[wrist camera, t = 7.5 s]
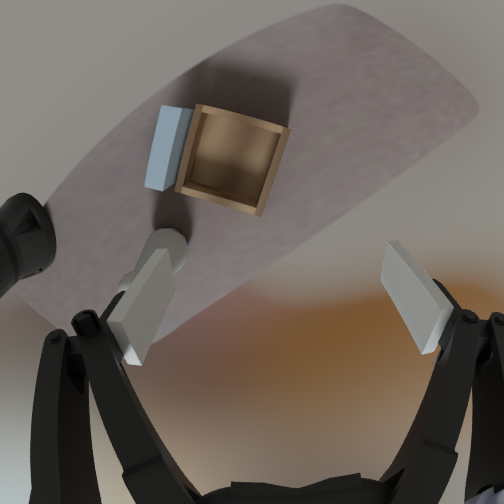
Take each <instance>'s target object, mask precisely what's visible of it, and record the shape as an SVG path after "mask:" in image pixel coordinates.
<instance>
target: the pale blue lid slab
mask: <svg viewBox="0 0 504 504" xmlns="http://www.w3.org/2000/svg"><path fill="white" fill-rule="evenodd" d="M193 114H194V109H189V108H182V107H175V106H167V105H162V106H161V110H160V114H159V118H158V122H157V126H156V130H155V134H154V139H153V143H152V148H151V153H150V158H149V163H148V168H147V174H146V179H145V185H144V187H148V188H152V189H155V190H159V191H164V190H165V189H167V188H168V187H170V186H171V185H172V184H174V183H175V182H177V177H178V173H179V168H180V164H181V160H182V156H183V151H184V147H185V143H186V140H187V136H188V132H189V128H190V124H191V121H192V117H193Z"/></svg>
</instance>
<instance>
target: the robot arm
mask: <svg viewBox="0 0 504 504" xmlns="http://www.w3.org/2000/svg"><path fill="white" fill-rule="evenodd" d="M55 253H56V241H55V235H54V231H53V227H52V224H51V222H50V219H49V217H48V215H47V213H46V211H45V210H44V208H43V207H42V205H41V204H40V203H39V202H38V201H37V200H36V199H35V198H34V197H33V196H31V195H29V194H27V193H18V194H16V195H14V196H13V197H10V198H9V199H8V200H7V201H6V202H5V203H4V204H3V205H2V206H1V207H0V298H1V297H2V296H3V295H4V294H5V293H6V292H7V291H8V290H9V289H10V288H11V287H12V286H13V285H14V284H16V283H17V282H18V281H19V280H22V279H25V278H28V277H30V276H33V275H36V274H39V273H41V272H43V271H44V270H45V269H47V268H48V267H49V266H50V265H51V264H52V262H53V260H54V258H55ZM380 281H381V282H382V284H383V286H384V287H385V289H386V291H387V292H388V294H389V295H390V297H391V299H392V301H393V302H394V304H395V306H396V308H397V309H398V311H399V313H400V315H401V316H402V318H403V320H404V322H405V324H406V326H407V327H408V329H409V331H410V333H411V335H412V337H413V339H414V340H415V342H416V344H417V346H418V348H419V350H420V352H421V354H426V353H430V352H434V350H435V348H436V346H437V344H438V343H439V345H440V346H441V350H440V352H439V354H438V355H437V357H436V359H435V361H434V363H433V364H435V363H436V364H435V367H434V370H433V373H432V376H431V379H430V382H429V385H428V387H427V390H426V393H425V395H424V398H423V400H422V403H421V405H420V407H419V410H418V412H417V414H416V417H415V419H414V421H413V423H412V426H411V428H410V430H409V432H408V434H407V436H406V438H405V440H404V442H403V444H402V446H401V448H400V450H399V452H398V453H397V455H396V457H395V459H394V461H393V462H392V464H391V465H390V467H389V468H388V470H387V471H386V472H385V473H384V474H383V476H382V477H381V478H380V480H379V481H376V480H372V479H366V478H361V475H360V473H356V474H351V475H345V476H339V477H333V478H328V479H326V480H323V481H320V482H317V483H314V484H311V485H308V486H305V487H301V488H290V487H284V486H278V485H273V484H268V483H253V482H231V487H225V488H221V489H218V490H215V491H212V492H210V493H208V494H205V495H204V496H202V495H201V494H200V493H199V492H198V490H197V489H196V488H195V487H194V486H193V484H192V483H191V482H190V481H189V480H188V479H187V477H186V476H185V475H184V473H183V472H182V471H181V469H180V468H179V466H178V465H177V463H176V462H175V460H174V459H173V457H172V456H171V454H170V453H169V451H168V450H167V448H166V447H165V445H164V443H163V442H162V440H161V438H160V437H159V435H158V433H157V432H156V430H155V428H154V427H153V425H152V423H151V421H150V420H149V418H148V416H147V414H146V412H145V410H144V408H143V406H142V405H141V403H140V401H139V399H138V397H137V395H136V393H135V391H134V389H133V387H132V385H131V382H130V380H129V378H128V376H127V374H126V371H125V369H124V367H123V365H122V363H121V360H122V358H123V356H124V357H125V359H126V361H127V363H128V364H133V365H140V366H142V364H143V362H144V359H145V357H146V354H147V352H148V349H149V347H150V345H151V343H152V340H153V338H154V336H155V333H156V331H157V329H158V326H159V324H160V322H161V320H162V317H163V315H164V313H165V311H166V309H167V306H168V304H169V302H170V300H171V298H172V295H173V293H174V291H175V289H176V283H175V278H174V274H173V270H172V265H171V261H170V256H169V252H168V248H164V249H156V250H155V251H154V253H153V254H152V255H151V257H150V258H149V259H148V261H147V262H146V263H145V265H144V266H143V268H142V269H141V270H140V272H139V273H138V275H137V276H136V277H135V279H134V280H133V282H132V283H131V285H130V286H129V288H128V289H127V290H126V291H121V292H119V293H118V294H117V295H116V296H115V297H114V298H113V299H112V301H111V303H110V304H109V305H108V307H107V308H106V310H105V311H104V312H103V314H102V315H101V317H100V318H98V316H97V314H96V312H95V311H94V310H84V311H81V312H79V313H77V314H76V315H75V316H74V317H73V319H72V321H71V324H72V326H73V328H74V330H75V332H76V334H77V336H71V337H68V336H67V334H66V332H65V331H64V330H62V329H57V330H54V331H52V332H50V333H49V334H48V335H47V337H46V339H45V341H44V345H43V350H42V354H41V359H40V364H39V369H38V374H37V380H36V387H35V395H34V402H33V411H32V422H31V423H32V424H31V442H30V463H31V464H30V466H31V485H32V489H31V494H30V500H29V504H102V503H101V497H100V493H99V488H98V482H97V476H96V471H95V464H94V457H93V449H92V440H91V429H90V415H89V414H90V413H89V382H90V385H91V388H92V392H93V395H94V398H95V401H96V404H97V407H98V410H99V413H100V416H101V418H102V421H103V424H104V426H105V429H106V431H107V434H108V436H109V439H110V441H111V443H112V446H113V448H114V450H115V452H116V455H117V457H118V459H119V461H120V463H121V465H122V467H123V471H124V472H123V474H122V478H123V480H124V483H125V484H126V487H127V488H128V490H129V492H130V494H131V496H132V497H133V499H134V501H135V503H136V504H438V503H439V501H440V499H441V497H442V495H443V493H444V490H445V488H446V486H447V484H448V482H449V479H450V477H451V474H452V472H453V469H454V467H455V464H456V462H457V458H458V453H457V452H455V446H456V443H457V440H458V437H459V434H460V430H461V427H462V424H463V420H464V417H465V413H466V409H467V405H468V401H469V396H470V392H471V387H472V402H473V403H472V405H473V410H472V411H473V413H472V437H471V450H470V459H469V466H468V473H467V479H466V487H465V500H464V501H465V502H464V504H504V314H502V313H499V312H493V313H492V314H491V316H490V318H489V320H480V319H479V318H478V316H477V315H476V314H475V313H474V312H472V311H470V310H467V309H462V308H461V307H460V306H459V304H458V303H457V302H456V301H455V299H454V298H453V297H452V296H451V295H450V293H449V292H448V291H446V288H445V287H444V286H443V285H442V284H441V283H440V282H438V281H437V280H436V279H431V278H430V276H429V275H428V274H427V273H426V272H425V271H424V269H423V268H422V267H421V266H420V265H419V264H418V262H417V261H416V260H415V259H414V258H413V257H412V256H411V255H410V254H409V252H408V251H407V250H406V249H405V248H404V247H403V246H402V245H401V244H400V243H399V242H398V241H387V245H386V251H385V257H384V262H383V267H382V272H381V277H380Z"/></svg>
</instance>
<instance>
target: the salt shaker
mask: <svg viewBox="0 0 504 504" xmlns="http://www.w3.org/2000/svg"><path fill="white" fill-rule="evenodd" d="M164 248H168V252H169V256H170V261H171V265H172V270H173V274H175V273H176V272H177V271H178V270H179V269H180V268H181V267H182V266H183V265H184V263H185V262H186V261H187V259H188V251H189V249H188V246H187V242H186V239H185V236H184V235H182V234H181V233H180V232H178V231H177V230H175V229H174V228H168V229H159V230H157V231H155V232H153V233H151V235H150V236H149V238H148V240H147V242H146V244H145V246H144V248H143V251H142V253H141V255H140V258H139V260H138V262H137V264H136V266H135V269H134V271H131V272H129V273H127V274H125V275H124V276H123V277H122V278H121V280H120V282H119V284H118V287H117V294H118V293H119V292H121V291H126V290H127V289H128V288H129V286H130V285H131V283H132V282H133V280H134V279H135V277H136V276H137V275H138V273H139V272H140V270H141V269H142V268H143V266H144V265H145V263H146V262H147V261H148V259H149V258H150V257H151V255H152V254H153V253H154V251H155V250H156V249H164Z"/></svg>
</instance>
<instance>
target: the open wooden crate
mask: <svg viewBox="0 0 504 504" xmlns="http://www.w3.org/2000/svg"><path fill="white" fill-rule="evenodd" d="M290 131H291V129H289V128H286V127H283V126H280V125H276V124H273V123H270V122H267V121H264V120H260V119H257V118H253V117H250V116H246V115H243V114H239V113H235V112H231V111H227V110H223V109H219V108H215V107H210V106H206V105H201V104H197V103H196V107H195V110H194V114H193V117H192V121H191V124H190V128H189V132H188V136H187V140H186V143H185V147H184V151H183V156H182V160H181V164H180V168H179V173H178V177H177V182H176V186H175V191H174V192H178V193H181V194H185V195H189V196H192V197H196V198H199V199H203V200H206V201H210V202H213V203H217V204H220V205H223V206H227V207H230V208H234V209H237V210H240V211H244V212H247V213H250V214H253V215H257V216H260V217H261V216H262V213H263V210H264V207H265V204H266V201H267V198H268V195H269V192H270V189H271V186H272V184H273V181H274V178H275V175H276V172H277V169H278V166H279V163H280V160H281V157H282V154H283V151H284V148H285V146H286V143H287V140H288V137H289V134H290Z"/></svg>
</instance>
